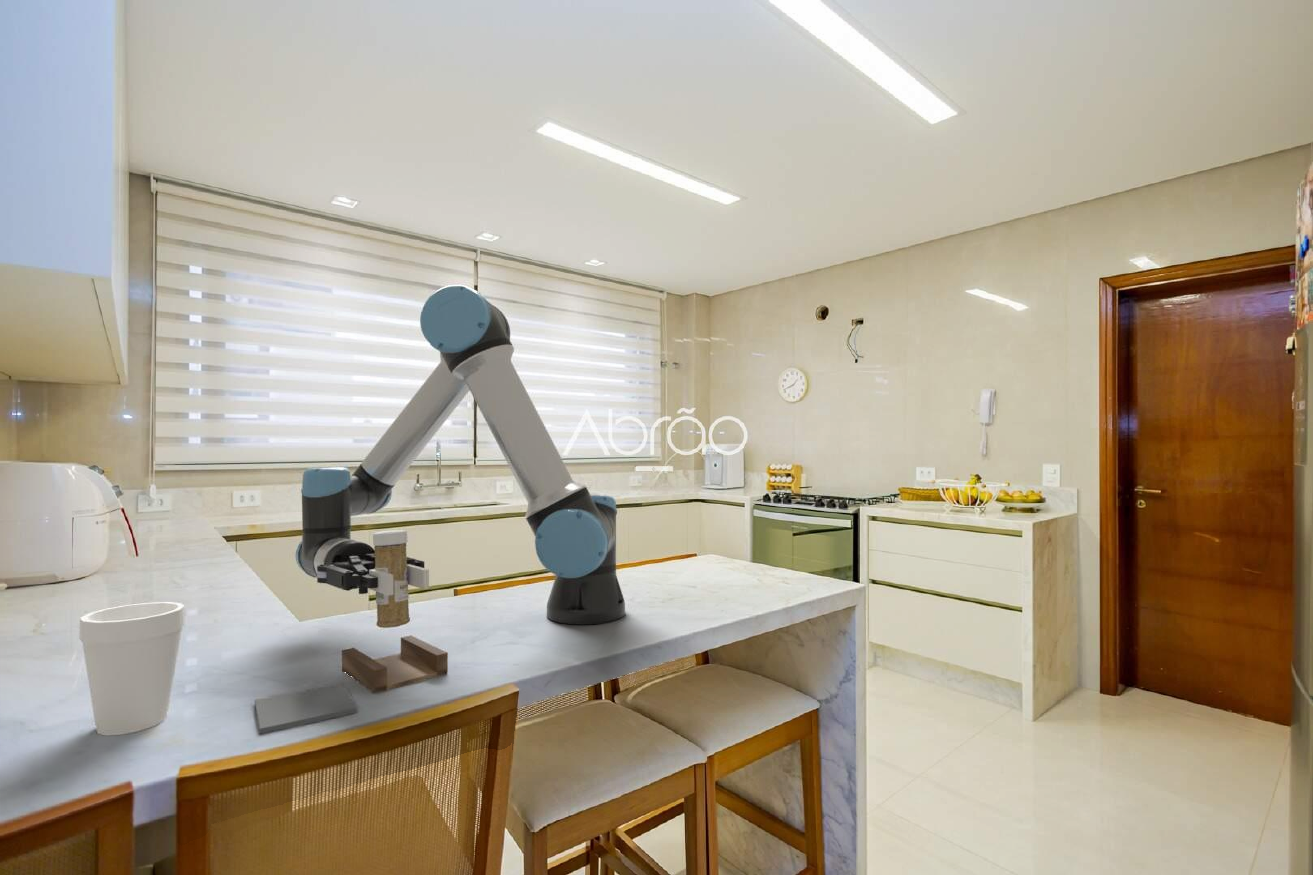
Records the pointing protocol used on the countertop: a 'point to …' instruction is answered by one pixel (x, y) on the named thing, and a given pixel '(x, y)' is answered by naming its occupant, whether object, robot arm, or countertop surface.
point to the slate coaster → (303, 707)
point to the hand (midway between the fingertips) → (408, 582)
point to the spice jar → (393, 562)
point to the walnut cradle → (396, 665)
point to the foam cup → (131, 663)
